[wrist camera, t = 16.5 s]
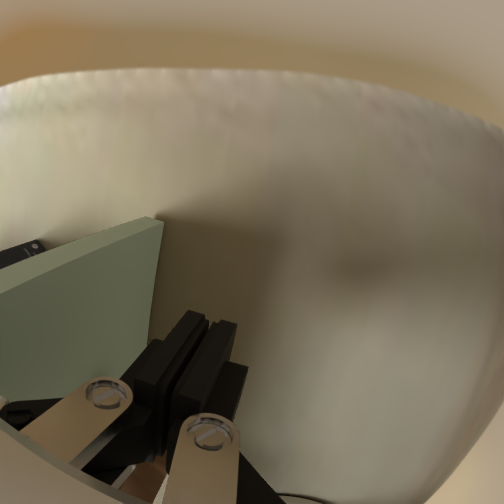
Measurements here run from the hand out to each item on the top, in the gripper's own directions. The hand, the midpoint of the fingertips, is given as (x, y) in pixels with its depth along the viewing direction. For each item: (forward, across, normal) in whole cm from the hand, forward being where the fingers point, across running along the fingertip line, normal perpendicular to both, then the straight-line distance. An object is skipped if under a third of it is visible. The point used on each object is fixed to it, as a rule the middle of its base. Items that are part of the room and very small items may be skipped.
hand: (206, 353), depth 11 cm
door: (+7, +5, +7) cm, 11 cm away
